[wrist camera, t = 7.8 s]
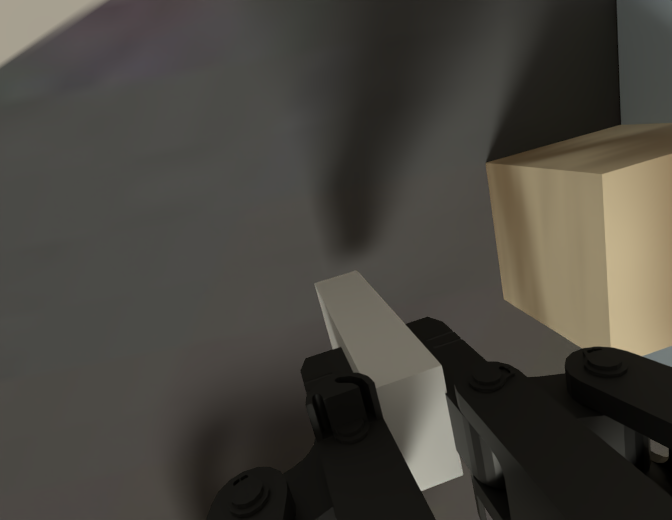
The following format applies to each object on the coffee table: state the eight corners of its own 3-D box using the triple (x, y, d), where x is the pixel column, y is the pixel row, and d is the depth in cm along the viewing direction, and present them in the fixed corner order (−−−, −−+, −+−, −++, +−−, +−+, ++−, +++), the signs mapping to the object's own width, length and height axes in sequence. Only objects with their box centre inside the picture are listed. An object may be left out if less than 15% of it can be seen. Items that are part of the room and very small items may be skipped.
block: (502, 298, 19) (611, 366, 13) (484, 162, 17) (602, 174, 11) (623, 259, 20) (776, 309, 14) (617, 125, 18) (791, 118, 12)
